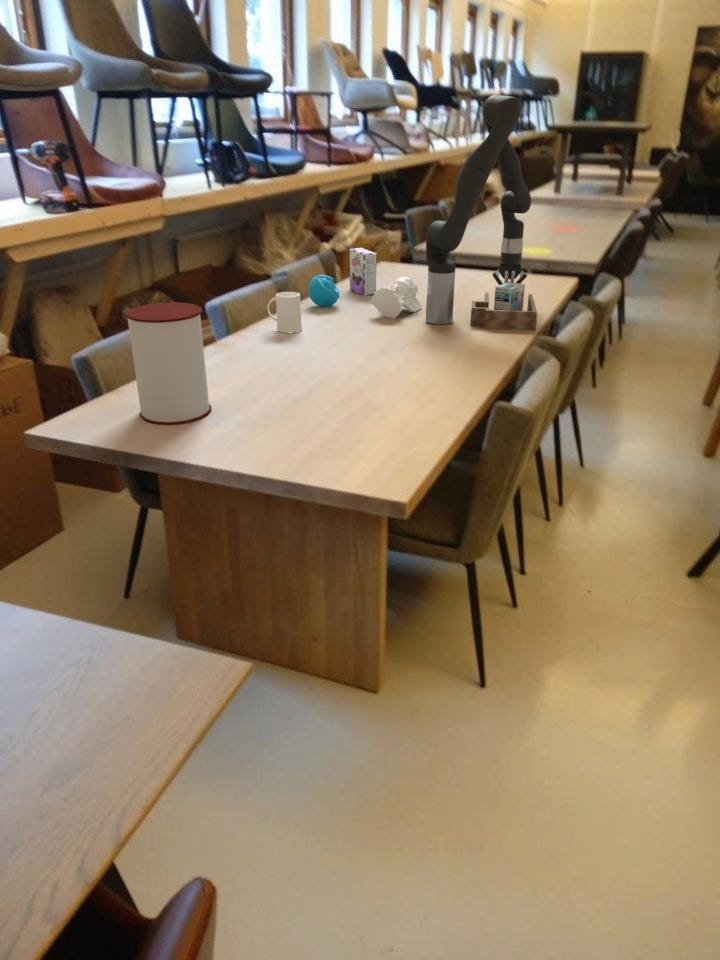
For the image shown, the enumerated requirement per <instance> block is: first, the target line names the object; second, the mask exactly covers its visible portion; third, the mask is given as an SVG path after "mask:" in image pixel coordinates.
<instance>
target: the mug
mask: <svg viewBox="0 0 720 960" xmlns="http://www.w3.org/2000/svg"><path fill="white" fill-rule="evenodd" d="M268 301H269V302H268V303H267V313H268V316H269V317H270V318H271V319H272V320H273V321H275V322H277V323H276V331H277V330H278V331H280V332H279V333H281V332H297V331H300V332H302V331H303V328H302V309H301V293H300V292H297V291H281V292H277V293H275V296H274V297H272V298H271V299H270V300H268ZM274 301H275V305H276V306H275V307H276V308H275V309H276V317H275V316H273V315H272V313H271V312H270V305H271V304H272V302H274ZM301 330H302V331H301ZM278 331H277V332H278ZM297 333H298V332H297Z"/></svg>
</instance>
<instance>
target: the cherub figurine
mask: <svg viewBox="0 0 720 960" xmlns="http://www.w3.org/2000/svg"><path fill="white" fill-rule="evenodd" d="M418 292H419V291H418V285H417V283H416V282H415V280H413V279H412V278H409V277H407V276H401V277H398V278H397V279H396V280H394V282H393V283H392V284H390V285H389V287H383V286H382V287H380V288H379V289H376V291H375V292H374V295H372V296H373V297H372V300H371V305H373V306H374V308H375V309H377V311H378V312H379V313H380V314H381V315H383V316H384V317H386V318H389V319H390V318H392V319H396V318H397V317H398V316H399V315H400V313H401V312H402V311H403V307H404V309H406V310H407V311H408V312H410V313H413V314H414V313H416V312H418V311H420V310H421V309H422V307H423V305H422V303H421V301H419V299H417V295H416V294H417V293H418Z"/></svg>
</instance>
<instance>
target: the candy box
mask: <svg viewBox="0 0 720 960" xmlns="http://www.w3.org/2000/svg"><path fill="white" fill-rule="evenodd" d="M377 258H378V257H377V252H374V251H370V250H368V249H365V248H363V247H356V248H349V290H350V289H351V291H353V292H354V291H355V293H356V292H357V294H358V295H361V296H363V297H368V296H367V295H370V296H373V295H374V292H375V291H377Z"/></svg>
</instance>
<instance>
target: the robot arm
mask: <svg viewBox="0 0 720 960" xmlns="http://www.w3.org/2000/svg"><path fill="white" fill-rule="evenodd" d="M484 101H485V102H484V103H483V107H482V117H483V121H484V125H485V126H486V131H487V132H488V133H487V134H488V135H487V136H486V138H485V139H484V140H483V141H482V142H481V143H480V144H479V145H478V146H477V147H476V148H475V149H474V150H472V152H471V153H470V154H469V155H468V156H467V157H466V158H465V160H464V162H463V164H462V166H461V168H460V171H459V173H458V174H457V177H456V181H455V192H454V193H455V195H454V203H453V206H452V210H451V211H450V214H449V215H448V217H447V219H446V221H445V220H435V221H433V222H432V223H431V224H430V225H429V226H428V228H427V231H426V236H425V259H426V264H427V268H428V269H427V270H428V271H427V293H426V306H425V307H426V308H425V309H426V310H425V323H428V324H433V325H435V324H436V325H445V324H446V325H447V324H451V323H453V322H454V305H455V303H454V300H455V285H456V284H455V281H456V280H455V279H456V269H457V268H456V266H457V265H456V262H455V261H454V259H452V256H451V253H450V252H454V251H455V250H457V248H458V247H459V246H460V244H461V242H462V240H463V237H464V234H465V231H466V229H467V226H468V223H469V221H470V218H471V216H472V213H473V211H474V209H475V208H476V207H475V206H476V205H477V202H478V199H479V198H480V195H481V193H482V191H483V189H484V187H485V185H486V183H487V181H488V179H489V177H490V174H491V172H492V170H493V168H494V166H495V163H496V162H497V164H498V168H499V172H500V173H499V174H500V180H501V184H502V187H503V188H504V189H505V190H508V191H505V192H504V193H503V194H502V196H501V198H500V199H501V200H500V211H501V217H502V223H503V232H502V234H503V235H502V240H501V247H500V250H501V251H500V260H499V266H498V268H497V270H496V271H493V272H492V277H493V279H494V280H495V281H496V283H497V284H498V286H499V285H502V284H505V283H507V282H513V283H519V284H523V282H524V280H525V279H526V278H527V277H528V274H527V273H526V272H524V271H523V268H522V257H523V247H524V243H523V242H524V241H523V240H524V239H523V238H524V229H525V228H524V226H525V224H524V222H523V221H522V220H520V219H518V218H517V217H516V214H526V213H528V212H529V210H530V209H531V206H532V196H531V193H530V191H529V189H528V187H527V184H526V182H525V180H524V178H523V173H522V172H523V171H522V167H521V162H520V158H519V156H518V154H517V152H516V150H515V148H514V147H513V145H512V143H511V141H510V140H509V137H510V136H511V134H512V132H513V130H514V129H515V127H516V126H517V123H518V122H519V119H520V115H521V111H522V105H521V102H520V100H519V99H518V98H517V97H515V96H510V95H509V96H508V95H498V94H493V95H490V96H489V97H488V98H487V99H486V100H484ZM500 276H501V278H502V279H503V280H504V281H503V282H504V283H503V282H502V280H501V279H500ZM518 277H519V278H518ZM517 278H518V279H517ZM516 279H517V280H516ZM515 280H516V282H515Z"/></svg>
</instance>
